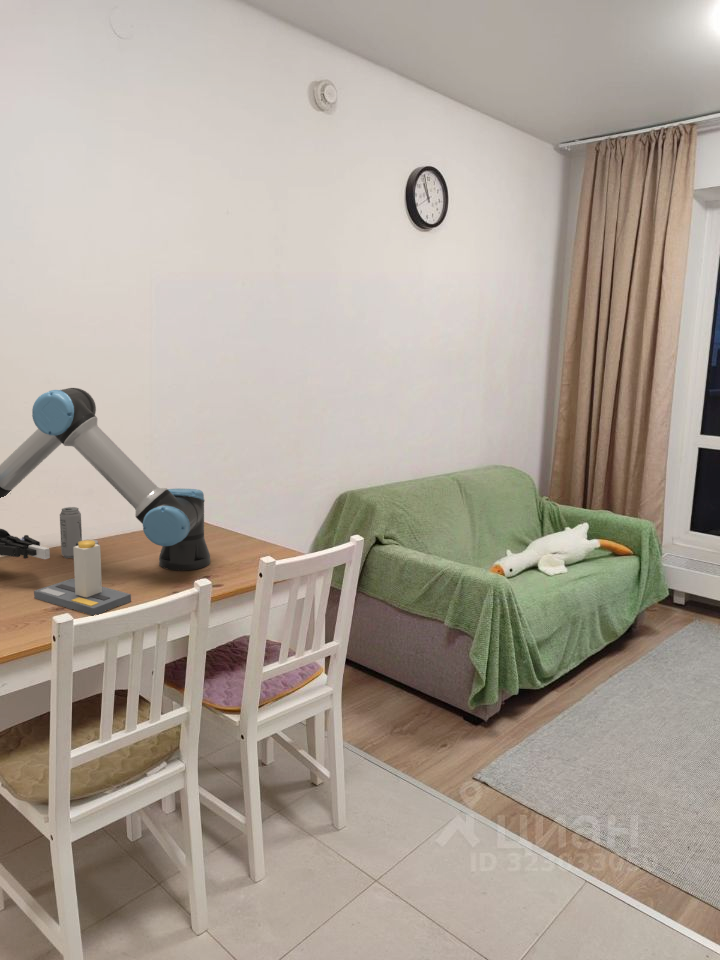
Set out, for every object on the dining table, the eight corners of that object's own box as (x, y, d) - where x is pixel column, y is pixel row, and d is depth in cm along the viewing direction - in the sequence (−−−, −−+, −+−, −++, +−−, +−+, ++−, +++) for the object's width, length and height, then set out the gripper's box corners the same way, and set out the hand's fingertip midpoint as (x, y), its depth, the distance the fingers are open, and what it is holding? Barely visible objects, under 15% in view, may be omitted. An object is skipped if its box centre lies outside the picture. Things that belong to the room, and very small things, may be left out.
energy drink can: (82, 558, 221) (80, 510, 218) (61, 559, 219) (58, 511, 216) (82, 552, 227) (81, 506, 224) (62, 554, 225) (59, 507, 222)
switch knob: (75, 594, 184) (73, 543, 182) (91, 588, 189) (89, 538, 186) (86, 597, 183) (84, 545, 180) (101, 591, 187) (100, 541, 184)
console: (34, 598, 187) (33, 590, 187) (72, 585, 198) (72, 577, 197) (93, 616, 177) (93, 607, 176) (131, 601, 187) (130, 593, 187)
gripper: (12, 547, 209) (68, 561, 198) (-31, 559, 198) (26, 574, 186) (10, 522, 207) (66, 534, 196) (-33, 532, 196) (24, 546, 185)
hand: (47, 553), depth 191 cm, fingers closed
